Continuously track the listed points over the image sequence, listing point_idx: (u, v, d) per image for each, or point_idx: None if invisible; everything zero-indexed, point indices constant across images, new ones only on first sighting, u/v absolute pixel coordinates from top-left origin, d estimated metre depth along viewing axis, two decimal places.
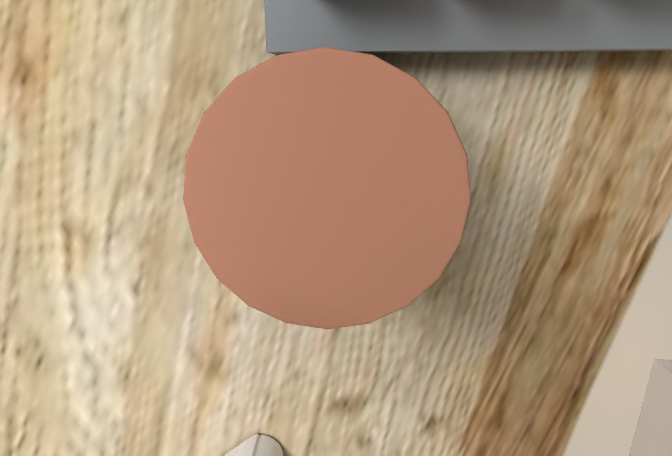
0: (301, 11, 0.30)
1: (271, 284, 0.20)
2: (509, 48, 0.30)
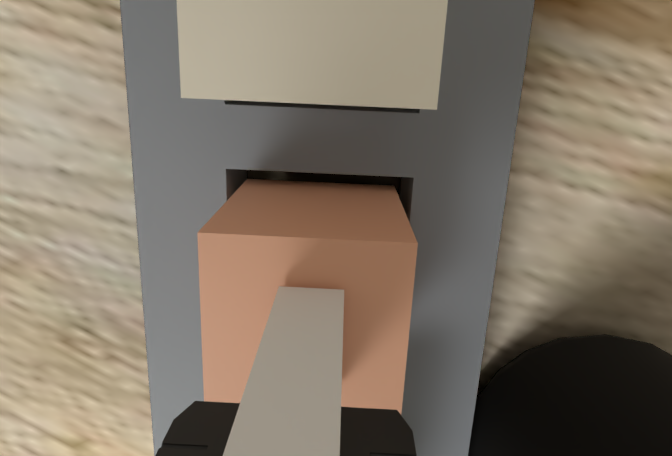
0: None
1: None
2: (499, 222, 0.17)
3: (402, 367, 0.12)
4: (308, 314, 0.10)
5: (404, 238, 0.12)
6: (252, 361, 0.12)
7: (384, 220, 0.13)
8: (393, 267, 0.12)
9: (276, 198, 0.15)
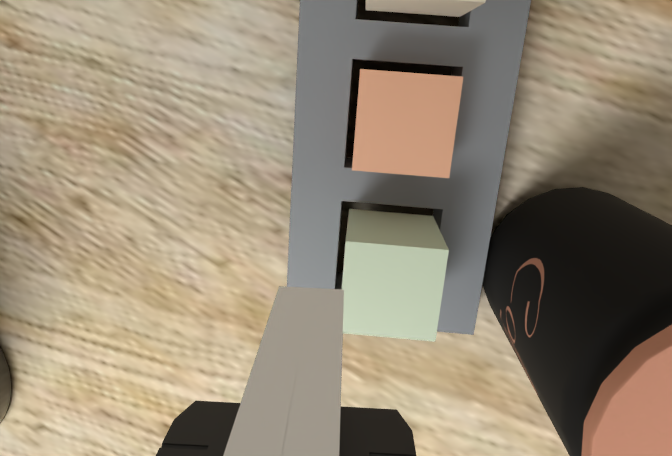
0: (442, 299, 0.32)
1: None
2: (512, 96, 0.28)
3: (452, 143, 0.25)
4: (308, 314, 0.10)
5: (456, 76, 0.25)
6: (379, 138, 0.26)
7: None
8: (451, 89, 0.25)
9: None
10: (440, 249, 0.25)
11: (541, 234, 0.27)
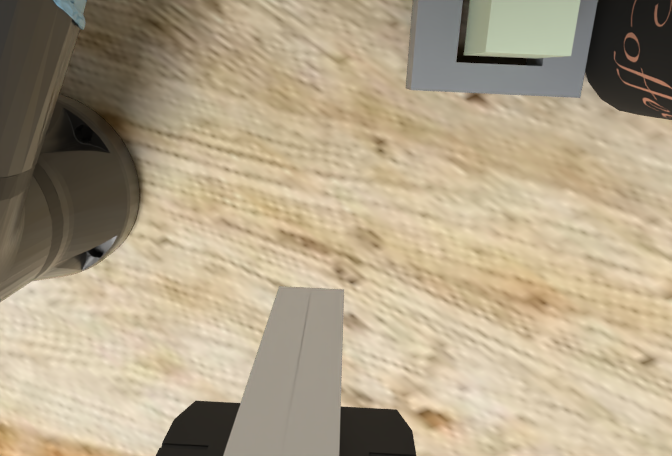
0: (553, 63, 0.35)
1: None
2: None
3: None
4: (308, 314, 0.10)
5: None
6: None
7: None
8: None
9: None
10: None
11: None
